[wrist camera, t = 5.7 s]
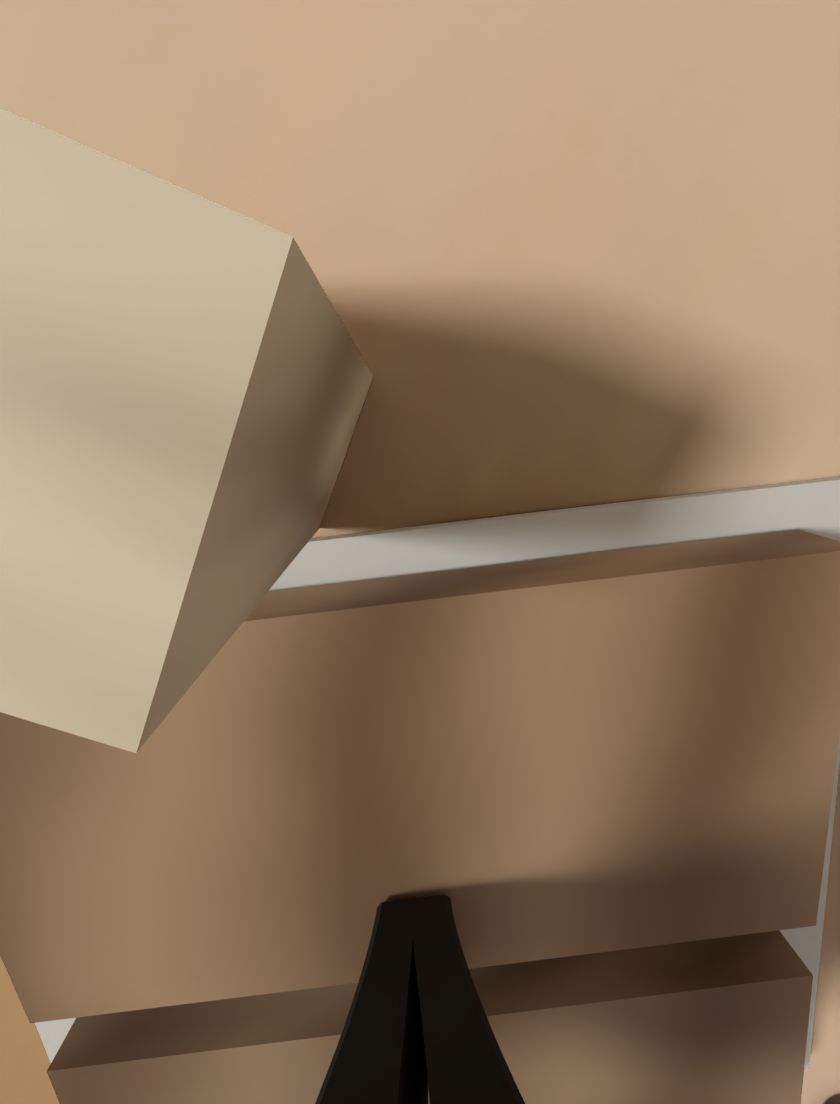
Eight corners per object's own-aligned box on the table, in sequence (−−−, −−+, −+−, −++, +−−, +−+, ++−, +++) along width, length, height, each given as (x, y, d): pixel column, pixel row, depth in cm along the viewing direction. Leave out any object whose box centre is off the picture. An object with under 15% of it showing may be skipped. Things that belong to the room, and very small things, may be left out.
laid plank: (763, 909, 12) (812, 975, 11) (753, 1061, 13) (797, 1139, 12) (90, 993, 12) (47, 1070, 10) (141, 1139, 13) (109, 1227, 12)
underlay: (855, 474, 10) (869, 475, 10) (799, 1054, 14) (808, 1068, 13) (-120, 588, 10) (-136, 593, 10) (95, 1143, 14) (88, 1159, 13)
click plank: (797, 529, 10) (863, 548, 8) (768, 866, 12) (816, 925, 10) (-53, 629, 9) (-127, 664, 8) (73, 952, 12) (30, 1023, 10)
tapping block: (112, 451, 9) (154, 285, 9) (319, 527, 10) (373, 376, 9) (-646, 514, 3) (-705, -202, 2) (136, 752, 3) (292, 236, 2)
